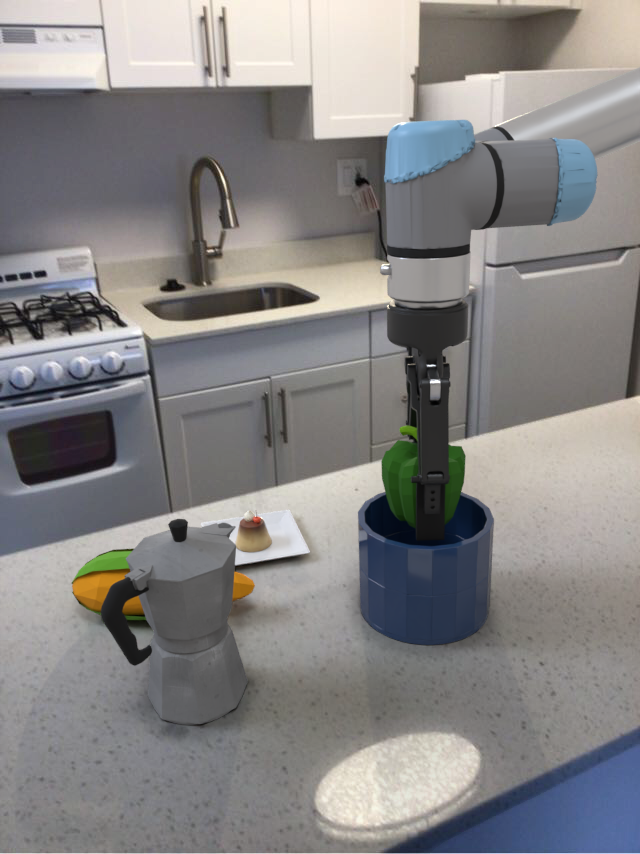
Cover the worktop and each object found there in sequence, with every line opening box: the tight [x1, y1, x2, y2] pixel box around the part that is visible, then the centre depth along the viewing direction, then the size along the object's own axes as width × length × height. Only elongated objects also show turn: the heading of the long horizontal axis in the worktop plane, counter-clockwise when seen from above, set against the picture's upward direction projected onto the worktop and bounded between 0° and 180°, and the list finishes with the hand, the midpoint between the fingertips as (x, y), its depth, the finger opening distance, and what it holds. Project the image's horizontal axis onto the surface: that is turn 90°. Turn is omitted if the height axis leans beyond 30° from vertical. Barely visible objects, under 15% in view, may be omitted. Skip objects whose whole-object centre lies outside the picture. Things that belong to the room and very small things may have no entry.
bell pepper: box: [380, 425, 466, 529], centre depth 77 cm, size 8×8×10 cm
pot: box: [357, 491, 495, 646], centre depth 80 cm, size 14×14×11 cm
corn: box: [70, 547, 256, 621], centre depth 82 cm, size 7×8×20 cm
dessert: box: [200, 508, 311, 567], centre depth 95 cm, size 12×12×5 cm
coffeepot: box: [100, 518, 249, 726], centre depth 67 cm, size 15×9×18 cm, turn 145°
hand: (425, 517), depth 78 cm, fingers closed on bell pepper, 8 cm apart
